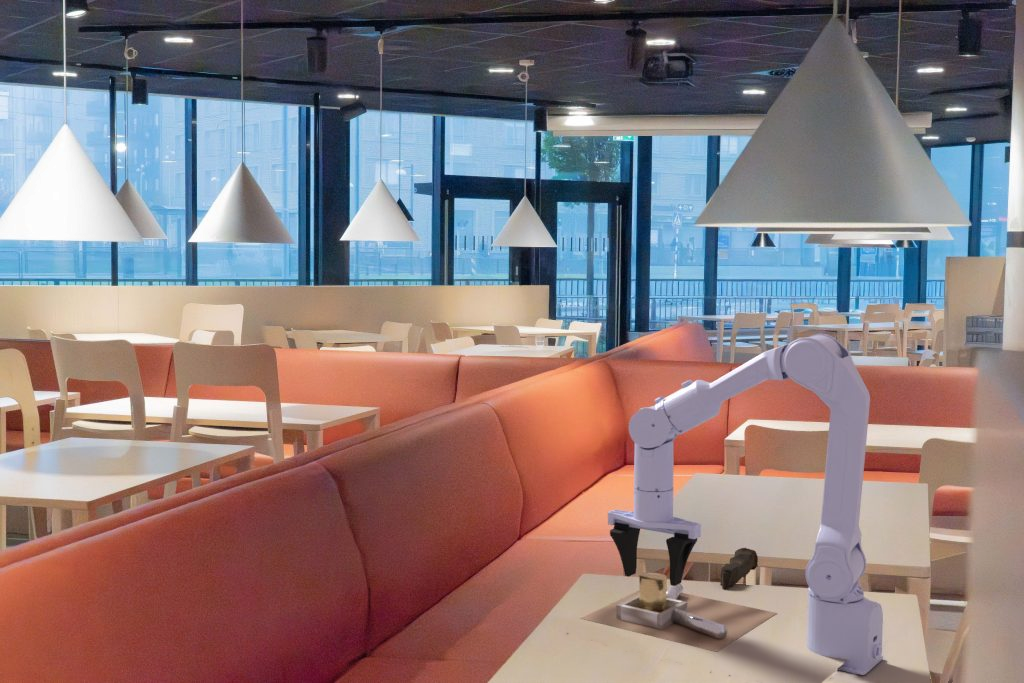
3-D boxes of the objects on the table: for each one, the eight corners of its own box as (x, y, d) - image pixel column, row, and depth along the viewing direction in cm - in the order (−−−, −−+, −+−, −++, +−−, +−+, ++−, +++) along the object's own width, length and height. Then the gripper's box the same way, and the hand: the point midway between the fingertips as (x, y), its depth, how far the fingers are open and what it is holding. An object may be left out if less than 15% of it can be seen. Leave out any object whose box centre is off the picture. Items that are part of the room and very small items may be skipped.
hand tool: (735, 568, 190) (735, 542, 189) (758, 570, 188) (758, 544, 188) (706, 598, 173) (707, 569, 172) (731, 601, 171) (731, 572, 171)
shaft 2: (727, 637, 149) (727, 623, 149) (717, 641, 148) (717, 626, 148) (679, 620, 156) (679, 607, 156) (669, 623, 155) (670, 610, 155)
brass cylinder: (671, 616, 158) (672, 576, 158) (656, 623, 155) (657, 582, 155) (648, 610, 161) (649, 571, 160) (633, 616, 158) (634, 577, 157)
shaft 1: (670, 594, 169) (670, 581, 168) (683, 595, 168) (683, 583, 168) (657, 609, 161) (658, 596, 161) (670, 611, 160) (671, 598, 160)
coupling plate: (777, 622, 160) (777, 599, 160) (716, 662, 144) (717, 637, 144) (648, 594, 173) (648, 573, 173) (580, 628, 157) (580, 604, 157)
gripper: (711, 489, 155) (709, 581, 156) (625, 477, 164) (624, 564, 165) (688, 498, 150) (687, 593, 151) (600, 485, 158) (599, 575, 159)
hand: (652, 579), depth 157 cm, fingers open, 7 cm apart
